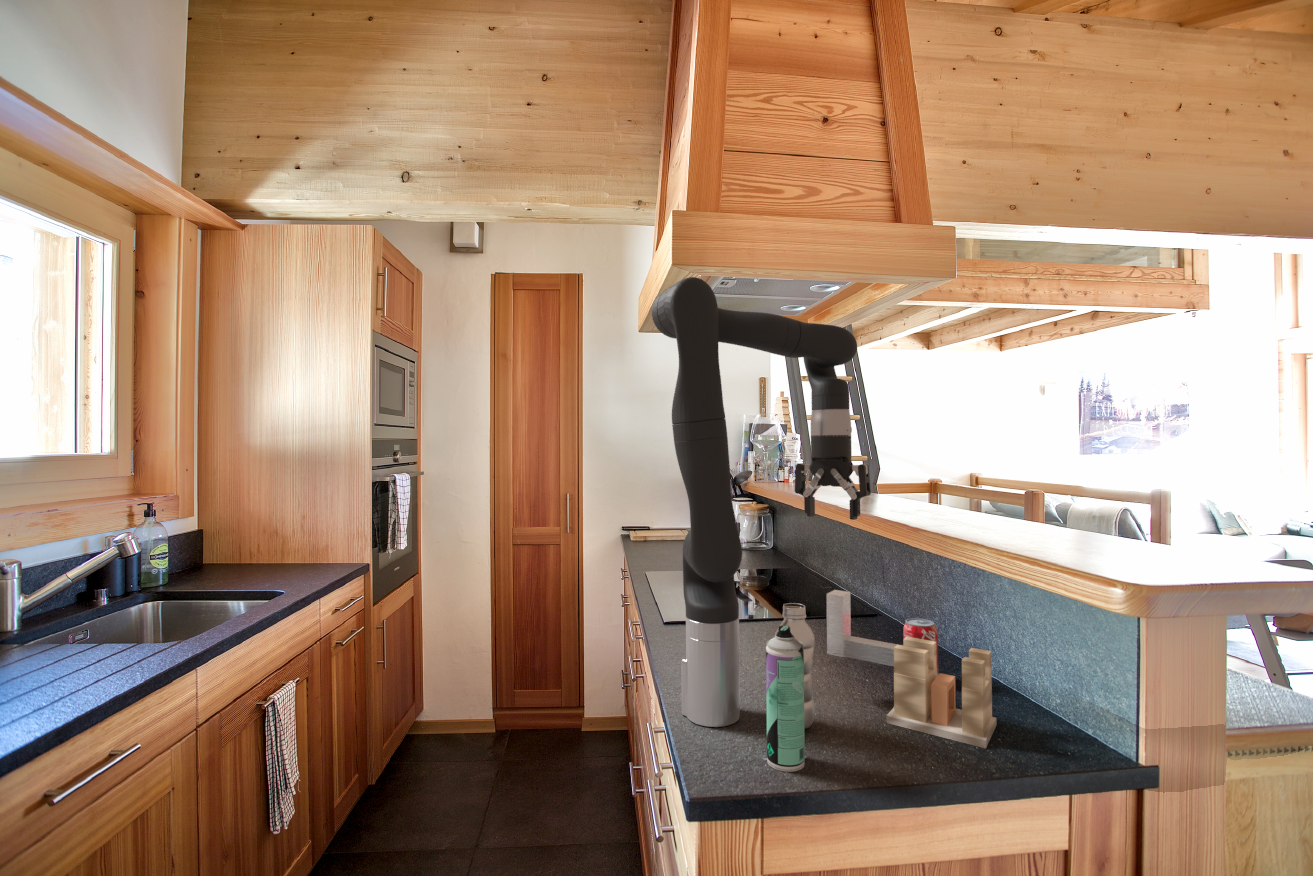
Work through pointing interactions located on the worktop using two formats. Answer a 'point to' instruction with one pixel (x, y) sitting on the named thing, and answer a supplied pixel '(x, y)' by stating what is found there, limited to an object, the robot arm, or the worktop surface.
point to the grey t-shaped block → (841, 634)
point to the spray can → (785, 701)
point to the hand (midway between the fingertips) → (832, 517)
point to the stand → (915, 693)
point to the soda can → (921, 631)
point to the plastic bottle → (803, 633)
